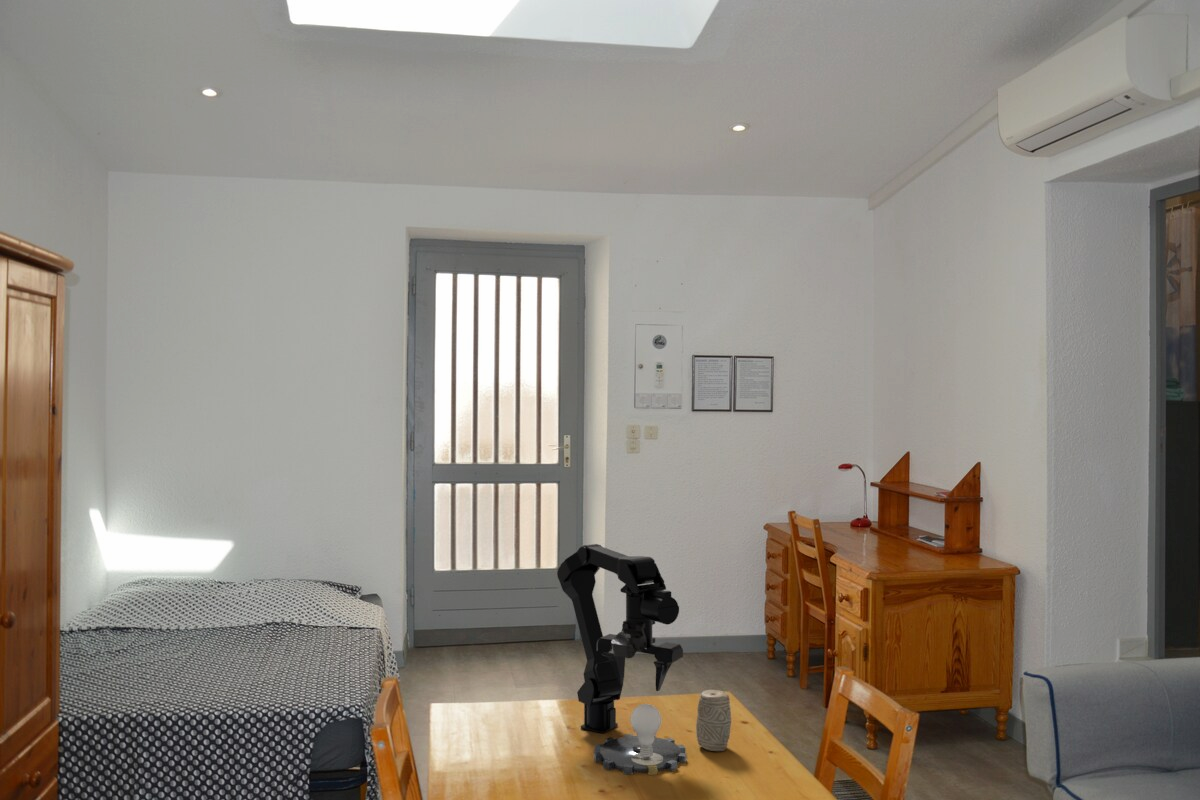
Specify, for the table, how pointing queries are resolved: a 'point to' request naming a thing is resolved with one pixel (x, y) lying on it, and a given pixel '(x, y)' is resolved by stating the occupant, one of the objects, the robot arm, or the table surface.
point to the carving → (713, 720)
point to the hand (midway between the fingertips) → (639, 687)
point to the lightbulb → (646, 727)
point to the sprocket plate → (628, 758)
